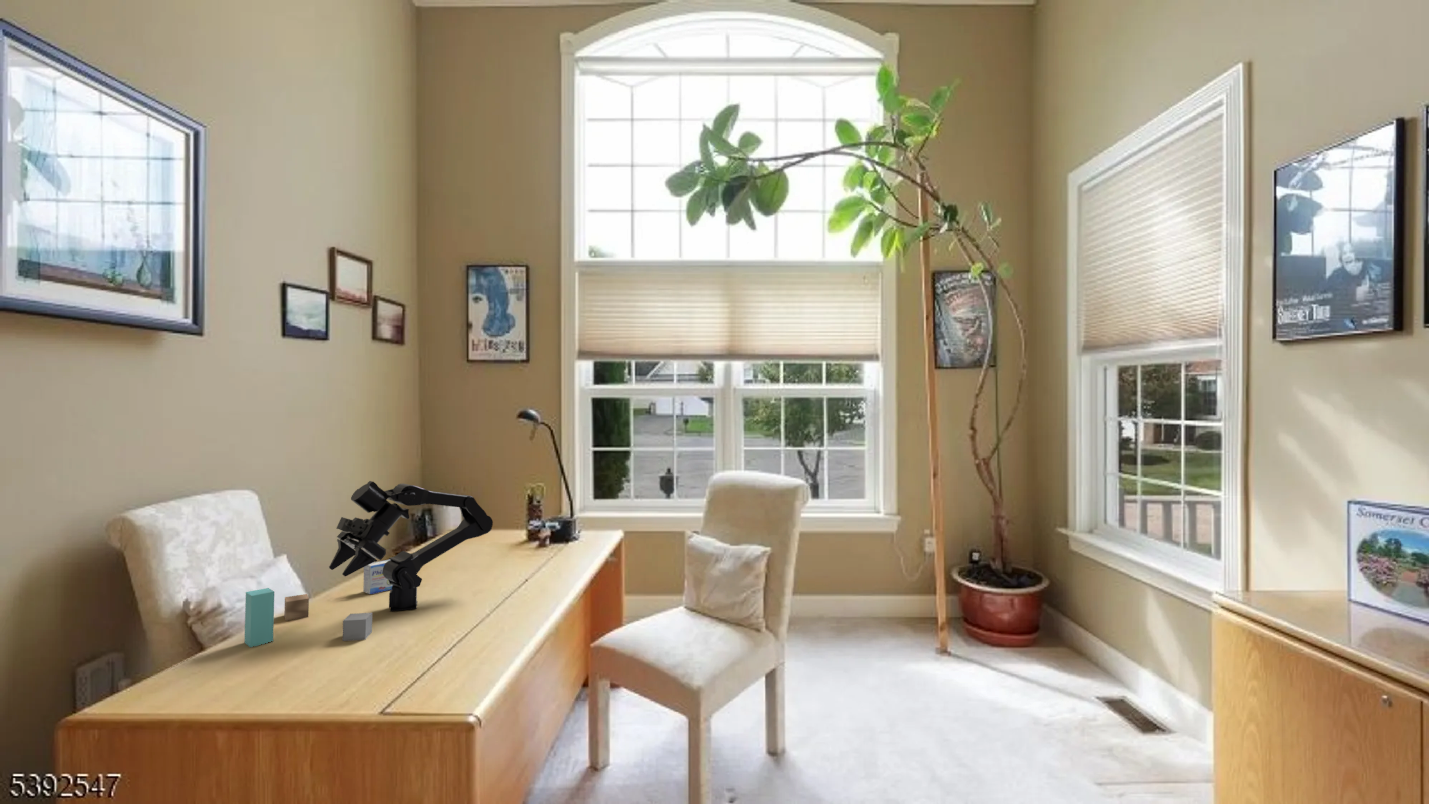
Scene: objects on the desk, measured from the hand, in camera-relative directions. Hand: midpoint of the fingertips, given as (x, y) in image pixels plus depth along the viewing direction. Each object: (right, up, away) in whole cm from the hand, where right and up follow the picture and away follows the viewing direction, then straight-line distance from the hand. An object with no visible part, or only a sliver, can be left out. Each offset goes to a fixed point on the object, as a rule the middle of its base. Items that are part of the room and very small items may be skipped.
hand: (336, 572), depth 159 cm
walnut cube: (-14, -13, +5) cm, 20 cm away
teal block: (-10, -13, -13) cm, 21 cm away
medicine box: (-5, -14, +28) cm, 32 cm away
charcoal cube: (+10, -14, -9) cm, 19 cm away
